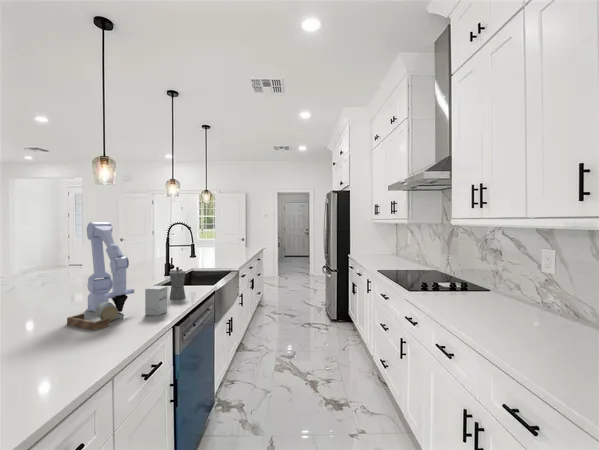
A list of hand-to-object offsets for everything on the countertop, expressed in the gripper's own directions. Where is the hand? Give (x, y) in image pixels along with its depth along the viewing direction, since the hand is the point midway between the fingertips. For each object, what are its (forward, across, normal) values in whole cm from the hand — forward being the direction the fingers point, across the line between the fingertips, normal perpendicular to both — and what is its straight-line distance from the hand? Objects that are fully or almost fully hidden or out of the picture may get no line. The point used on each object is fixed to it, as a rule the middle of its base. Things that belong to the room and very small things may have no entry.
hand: (119, 311), depth 154 cm
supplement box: (+2, +11, -12) cm, 16 cm away
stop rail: (+2, -15, 0) cm, 15 cm away
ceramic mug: (+2, -6, -1) cm, 6 cm away
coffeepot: (+2, +40, +4) cm, 40 cm away
